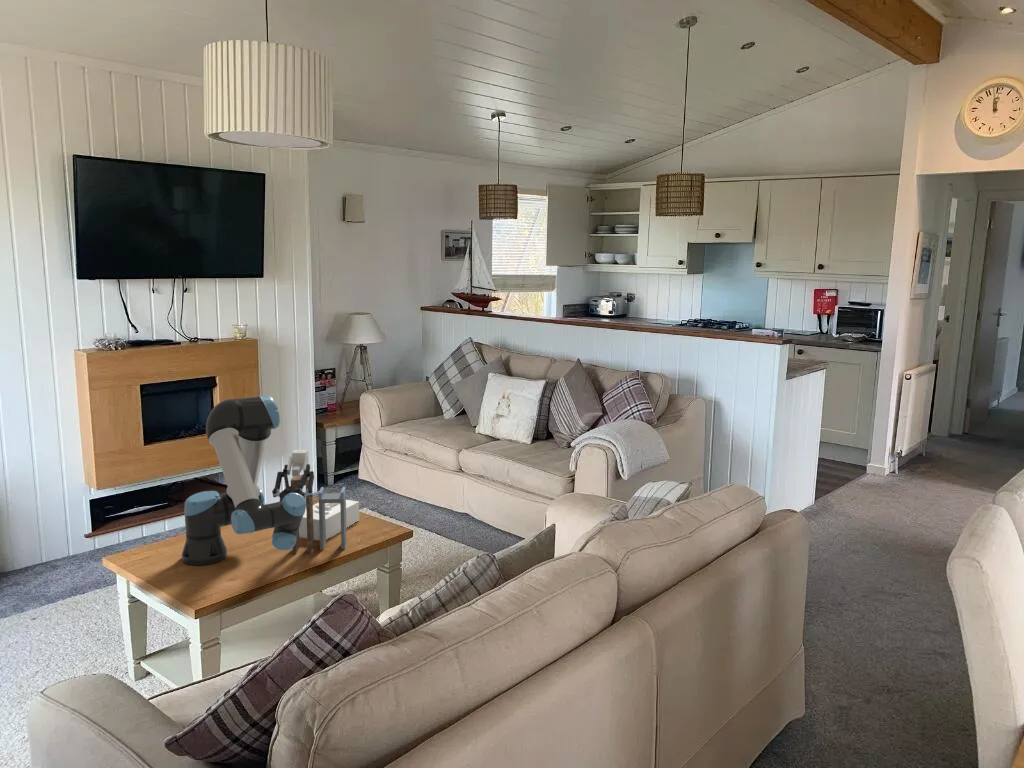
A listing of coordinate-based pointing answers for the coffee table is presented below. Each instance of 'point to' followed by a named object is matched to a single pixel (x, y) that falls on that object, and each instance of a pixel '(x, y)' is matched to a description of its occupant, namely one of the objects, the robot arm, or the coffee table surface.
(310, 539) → the tall stand
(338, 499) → the short stand
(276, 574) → the coffee table surface
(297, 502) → the robot arm
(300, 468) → the plug
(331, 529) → the tissue box
